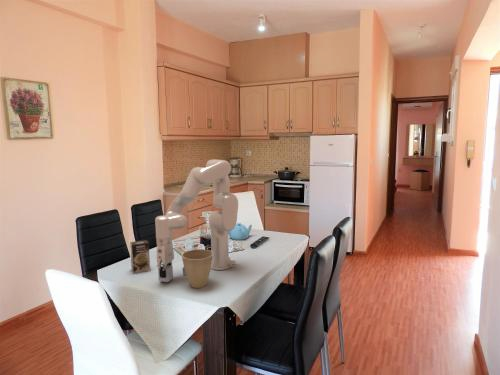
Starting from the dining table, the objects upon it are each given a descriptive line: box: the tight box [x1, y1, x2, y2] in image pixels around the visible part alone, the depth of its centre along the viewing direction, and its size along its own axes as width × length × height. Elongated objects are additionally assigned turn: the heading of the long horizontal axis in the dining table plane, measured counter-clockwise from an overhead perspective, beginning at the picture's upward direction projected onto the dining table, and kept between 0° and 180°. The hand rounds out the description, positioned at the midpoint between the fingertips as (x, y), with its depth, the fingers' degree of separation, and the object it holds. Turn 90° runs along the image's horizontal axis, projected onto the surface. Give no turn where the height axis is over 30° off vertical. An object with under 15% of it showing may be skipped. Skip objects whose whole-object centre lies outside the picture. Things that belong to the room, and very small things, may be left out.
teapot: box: [227, 222, 253, 241], centre depth 260 cm, size 15×15×11 cm
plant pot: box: [181, 248, 213, 289], centre depth 177 cm, size 15×15×16 cm
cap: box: [157, 265, 174, 283], centre depth 183 cm, size 5×5×7 cm
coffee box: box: [129, 239, 151, 274], centre depth 199 cm, size 9×6×16 cm
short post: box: [182, 266, 187, 276], centre depth 193 cm, size 3×3×4 cm
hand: (166, 274), depth 183 cm, fingers open, 5 cm apart
